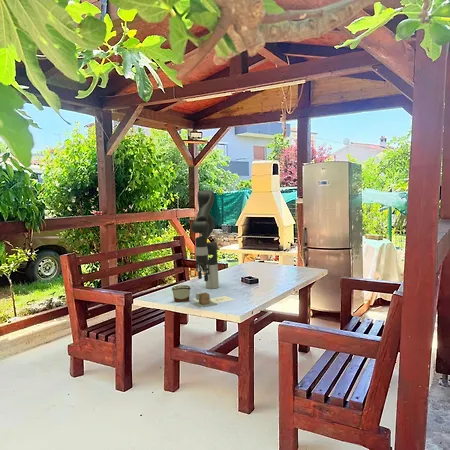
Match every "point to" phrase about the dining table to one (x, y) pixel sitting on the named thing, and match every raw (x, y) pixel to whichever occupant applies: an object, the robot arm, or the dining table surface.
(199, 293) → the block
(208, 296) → the block
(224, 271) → the dining table surface
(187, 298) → the food container
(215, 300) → the plaque
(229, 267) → the dining table surface
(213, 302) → the mat
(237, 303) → the dining table surface
